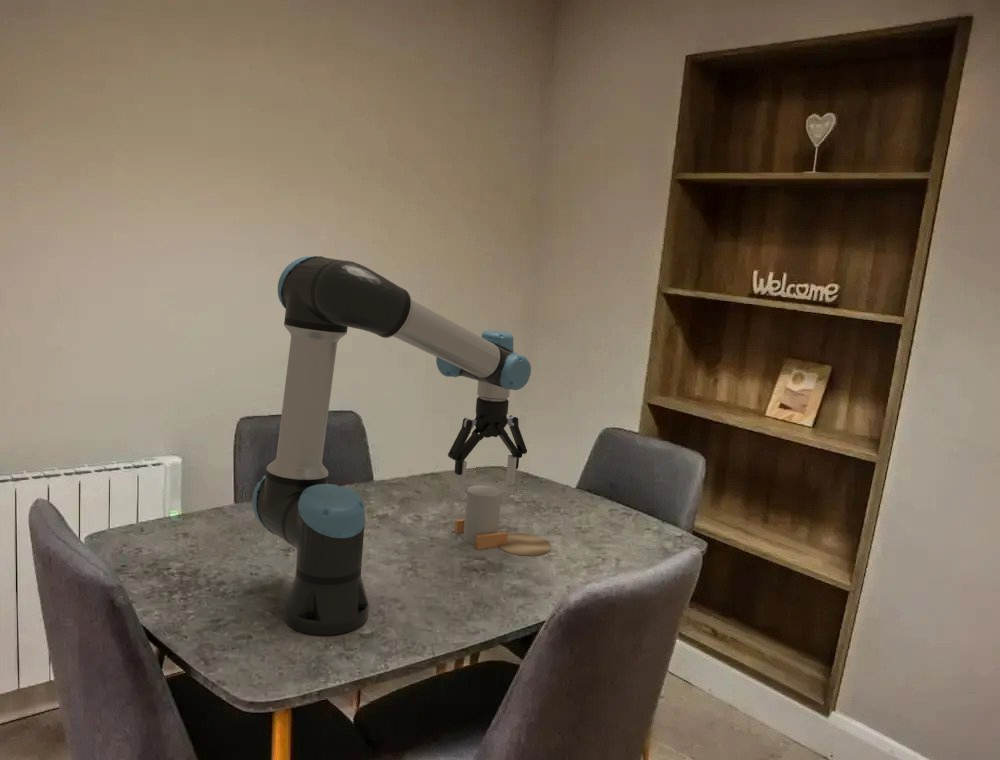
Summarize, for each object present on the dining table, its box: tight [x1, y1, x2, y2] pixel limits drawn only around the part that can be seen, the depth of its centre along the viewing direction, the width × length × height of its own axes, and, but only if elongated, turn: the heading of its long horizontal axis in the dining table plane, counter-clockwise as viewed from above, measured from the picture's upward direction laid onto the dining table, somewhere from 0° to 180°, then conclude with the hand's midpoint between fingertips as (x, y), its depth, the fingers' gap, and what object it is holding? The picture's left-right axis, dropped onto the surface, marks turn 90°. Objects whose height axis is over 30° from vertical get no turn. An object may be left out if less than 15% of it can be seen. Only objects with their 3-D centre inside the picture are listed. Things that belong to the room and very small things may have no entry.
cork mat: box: [498, 532, 552, 557], centre depth 186 cm, size 13×13×1 cm
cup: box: [463, 484, 502, 545], centre depth 186 cm, size 8×8×12 cm
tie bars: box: [454, 518, 509, 550], centre depth 187 cm, size 12×8×3 cm
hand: (485, 485), depth 185 cm, fingers open, 13 cm apart
